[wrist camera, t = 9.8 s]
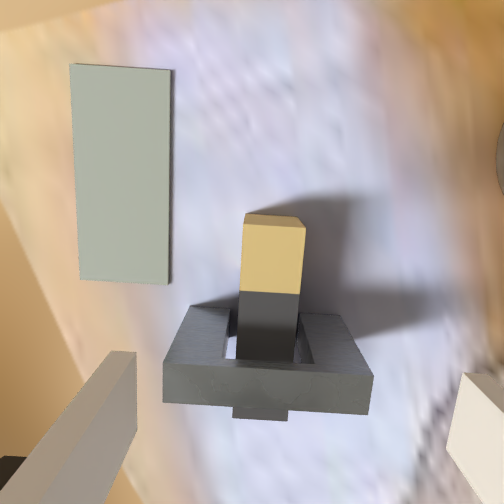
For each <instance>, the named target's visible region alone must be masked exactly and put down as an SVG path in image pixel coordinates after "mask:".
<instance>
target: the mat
mask: <svg viewBox="0 0 504 504" xmlns="http://www.w3.org/2000/svg"><path fill="white" fill-rule="evenodd" d="M69 67H70V87H71V107H72V128H73V148H74V168H75V189H76V209H77V229H78V250H79V270H80V280H92V281H108V282H124V283H140V284H156V285H168V284H169V198H170V99H171V71H170V70H158V69H142V68H127V67H112V66H97V65H81V64H69Z"/></svg>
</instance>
